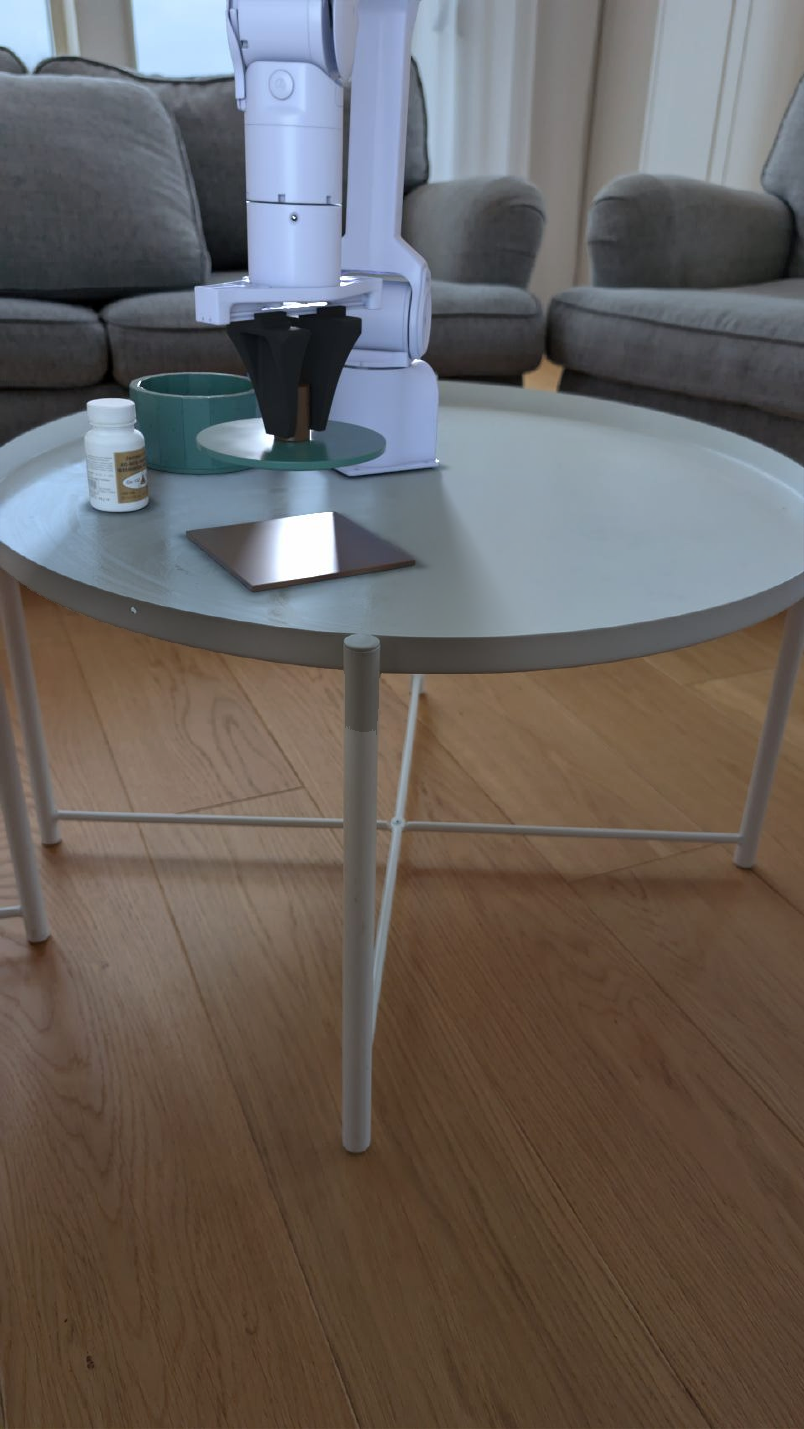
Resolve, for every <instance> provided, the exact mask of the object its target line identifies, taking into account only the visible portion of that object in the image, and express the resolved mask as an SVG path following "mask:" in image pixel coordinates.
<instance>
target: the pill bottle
mask: <svg viewBox="0 0 804 1429" xmlns="http://www.w3.org/2000/svg"><path fill="white" fill-rule="evenodd" d="M86 412H87V419H88V424H89V425H91V429H90V430H88V431H86V433H85V435H84V437H83V445H84V446H83V447H84V455H85V465H86V474H87V483H88V484H87V486H88V496H89V502H90V505H91V506H92V507H93V508H94V509H95V510H98V511H102V512H107V513H108V512H109V513H127V512H133V511H138V510H140V509H141V510H142V509H143V508H145V507H146V506H147V505H148V503H149V499H150V498H149V484H148V472H147V467H146V458H145V443H144V437H143V435H142V433H141V432H139V431H138V430H136V429H134V424H135V423H136V420H135V419H136V413H135V404H134V402H133V401H130V399H128V398H127V399H126V398H117V397H114V398H113V397H109V398H108V397H107V398H98V399H97V398H96V399H92V400H89V401H88V402H86Z"/></svg>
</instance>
